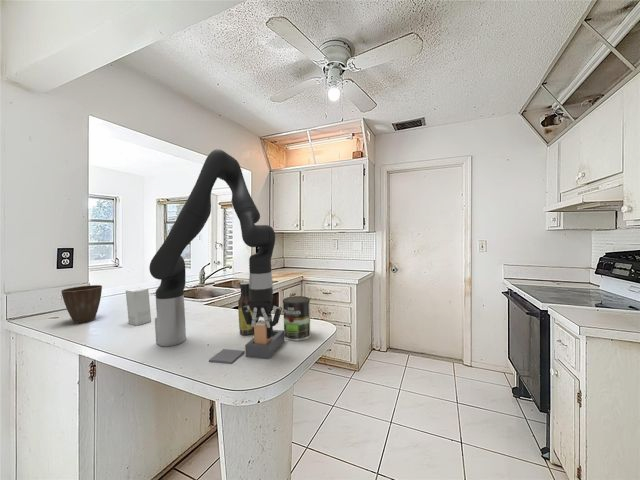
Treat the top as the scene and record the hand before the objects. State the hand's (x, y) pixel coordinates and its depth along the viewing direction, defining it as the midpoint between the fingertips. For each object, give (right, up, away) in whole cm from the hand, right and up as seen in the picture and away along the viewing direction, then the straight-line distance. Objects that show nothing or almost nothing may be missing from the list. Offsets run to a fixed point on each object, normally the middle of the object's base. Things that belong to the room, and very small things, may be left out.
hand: (262, 337), depth 93 cm
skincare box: (-64, -6, +37) cm, 74 cm away
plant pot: (-94, -7, +42) cm, 103 cm away
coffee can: (+10, -5, +14) cm, 18 cm away
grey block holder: (+1, -5, +3) cm, 6 cm away
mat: (-11, -6, -2) cm, 13 cm away
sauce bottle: (-10, -5, +19) cm, 22 cm away
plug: (0, -5, 0) cm, 5 cm away
